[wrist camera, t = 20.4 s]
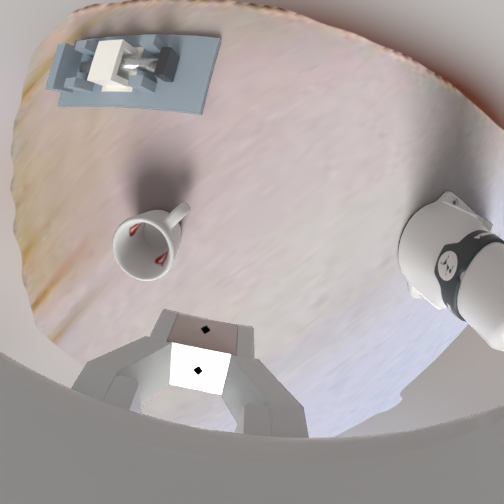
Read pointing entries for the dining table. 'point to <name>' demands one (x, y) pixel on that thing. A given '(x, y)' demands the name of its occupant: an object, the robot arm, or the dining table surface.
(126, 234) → the cup
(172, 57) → the shaft
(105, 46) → the bracket
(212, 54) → the block
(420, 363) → the dining table surface
